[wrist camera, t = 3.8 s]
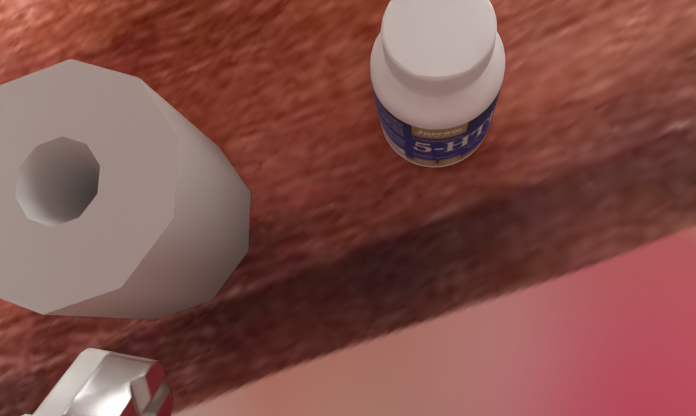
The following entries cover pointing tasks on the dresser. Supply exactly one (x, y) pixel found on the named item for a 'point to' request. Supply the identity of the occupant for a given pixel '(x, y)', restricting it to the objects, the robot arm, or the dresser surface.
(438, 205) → the dresser surface
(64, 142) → the toilet tissue
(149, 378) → the robot arm
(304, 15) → the dresser surface
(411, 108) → the pill bottle
